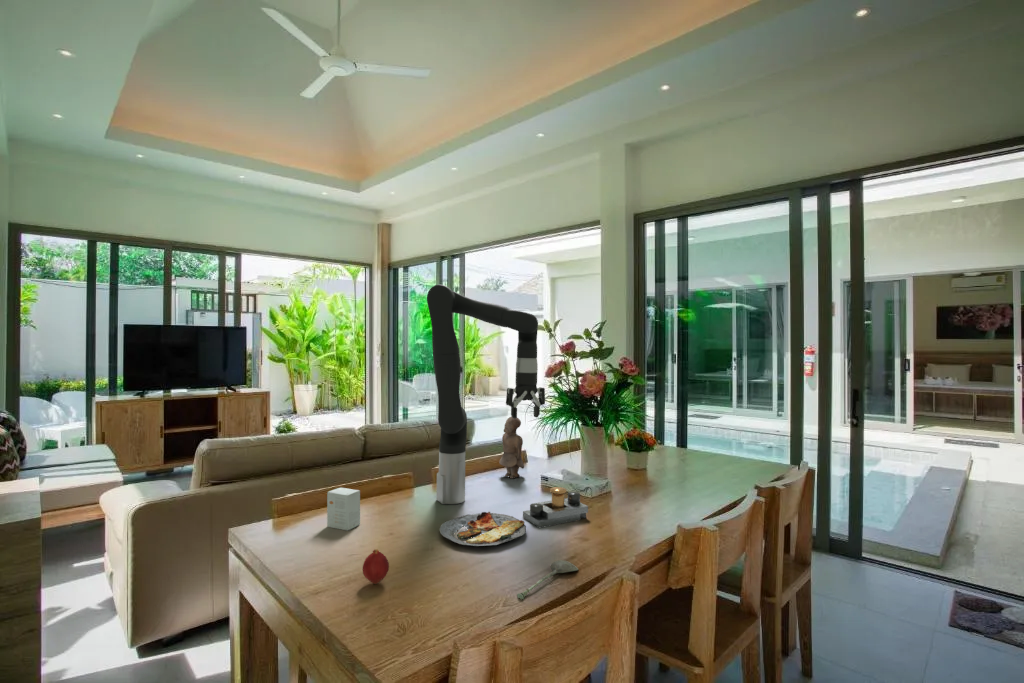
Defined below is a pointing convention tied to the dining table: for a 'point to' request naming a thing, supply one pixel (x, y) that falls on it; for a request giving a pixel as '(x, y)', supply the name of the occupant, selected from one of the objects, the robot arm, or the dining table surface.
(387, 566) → the onion
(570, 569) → the soupspoon
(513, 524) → the food plate
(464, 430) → the robot arm
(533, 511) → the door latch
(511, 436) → the clay figurine
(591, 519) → the dining table surface
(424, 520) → the dining table surface
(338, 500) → the small box
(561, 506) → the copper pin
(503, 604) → the dining table surface
